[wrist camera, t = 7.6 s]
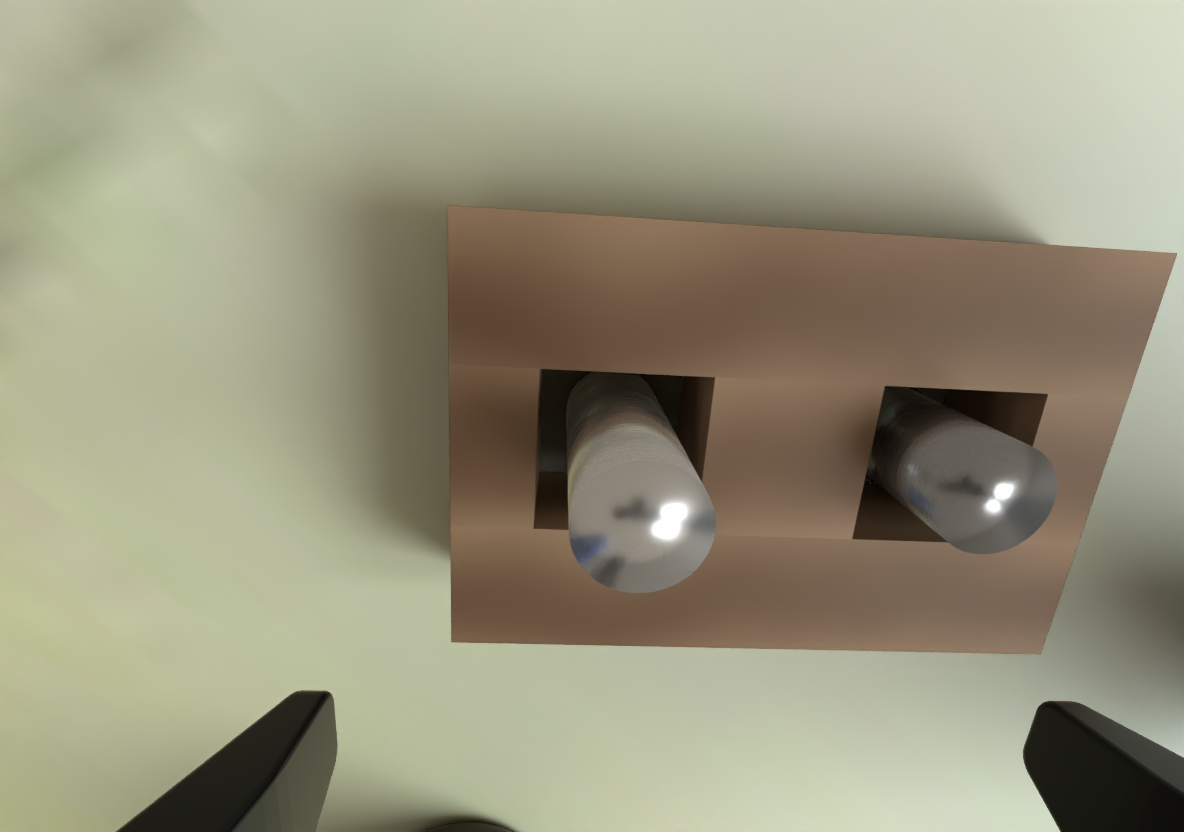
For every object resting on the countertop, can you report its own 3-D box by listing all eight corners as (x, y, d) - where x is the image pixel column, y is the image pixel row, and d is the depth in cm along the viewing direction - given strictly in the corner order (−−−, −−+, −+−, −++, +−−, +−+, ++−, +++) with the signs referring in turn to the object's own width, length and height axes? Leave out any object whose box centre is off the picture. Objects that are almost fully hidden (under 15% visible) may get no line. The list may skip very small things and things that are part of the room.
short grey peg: (927, 381, 20) (1073, 444, 14) (907, 465, 21) (1037, 556, 15) (839, 377, 20) (952, 439, 14) (823, 462, 21) (922, 552, 15)
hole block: (471, 209, 18) (447, 205, 14) (1053, 247, 19) (1177, 253, 15) (471, 567, 21) (451, 642, 18) (959, 581, 22) (1040, 654, 19)
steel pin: (661, 370, 20) (725, 463, 12) (652, 456, 20) (706, 595, 13) (568, 365, 19) (572, 457, 12) (563, 452, 20) (564, 590, 13)
